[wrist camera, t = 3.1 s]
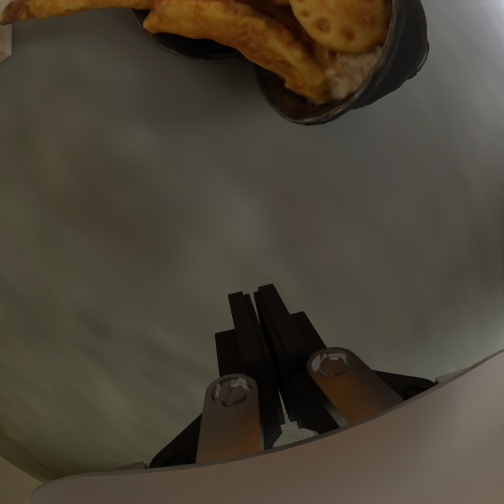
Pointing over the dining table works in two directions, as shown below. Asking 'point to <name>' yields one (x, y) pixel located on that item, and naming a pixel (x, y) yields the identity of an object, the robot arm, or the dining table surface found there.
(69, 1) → the fried shrimp in bowl
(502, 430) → the robot arm
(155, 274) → the dining table surface
